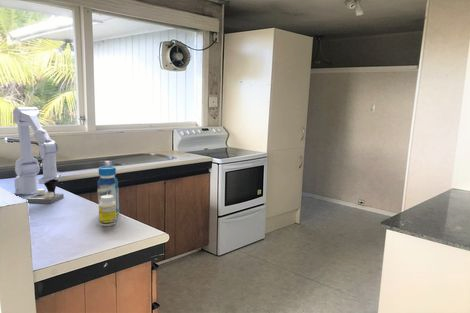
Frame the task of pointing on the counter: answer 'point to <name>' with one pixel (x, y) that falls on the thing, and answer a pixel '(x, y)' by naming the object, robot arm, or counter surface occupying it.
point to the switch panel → (42, 198)
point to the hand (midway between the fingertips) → (51, 195)
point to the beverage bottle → (108, 184)
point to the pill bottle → (107, 210)
